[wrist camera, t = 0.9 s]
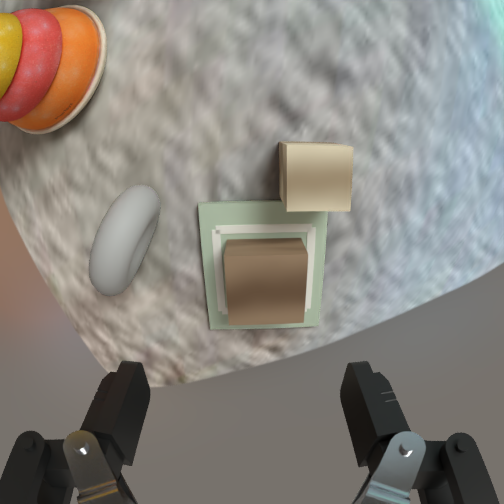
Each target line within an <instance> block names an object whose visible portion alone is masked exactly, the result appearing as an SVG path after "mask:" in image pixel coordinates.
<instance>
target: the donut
mask: <svg viewBox="0 0 504 504" xmlns="http://www.w3.org/2000/svg"><path fill="white" fill-rule="evenodd" d="M160 209H161V207H160V200H159V197H158V195H157V193H156V192H155V190H154V189H152V188H151V187H149V186H146V185H136V186H132V187H129V188H127V189H126V190H125V191H124V192H123V193H121V194H120V195H119V196H118V197H117V198H116V200H115V201H114V202H113V204H112V205H111V206H110V208H109V209H108V211H107V213H106V215H105V216H104V218H103V220H102V222H101V224H100V227H99V229H98V231H97V234H96V236H95V239H94V243H93V246H92V249H91V254H90V260H89V277H90V280H91V283H92V284H93V285H94V287H95V288H96V289H97V291H98V292H100V293H101V294H103V295H106V296H115V295H117V294H120V293H122V292H123V291H124V290H125V289H126V288H127V287H128V286H129V284H130V283H131V281H132V280H133V278H134V276H135V274H136V272H137V270H138V268H139V266H140V264H141V262H142V260H143V258H144V256H145V253H146V251H147V249H148V246H149V244H150V241H151V239H152V236H153V234H154V231H155V228H156V225H157V222H158V218H159V215H160Z"/></svg>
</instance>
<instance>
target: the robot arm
mask: <svg viewBox="0 0 504 504" xmlns="http://www.w3.org/2000/svg"><path fill="white" fill-rule="evenodd" d="M340 398H341V404H342V407H343V411H344V414H345V418H346V422H347V425H348V429H349V432H350V436H351V440H352V444H353V447H354V451H355V455H356V459H357V463H358V466H359V467H363V466H368V468H369V473H368V475H367V477H366V479H365V481H364V482H363V484H362V486H361V488H360V490H359V491H358V493H357V495H356V496H355V498H354V500H353V502H352V503H351V504H410V499H409V498H408V497H409V493H410V491H411V489H417V490H418V493H419V497H420V502H421V504H499V501H498V498H497V495H496V493H495V490H494V487H493V484H492V482H491V479H490V476H489V474H488V471H487V469H486V466H485V464H484V461H483V459H482V456H481V454H480V452H479V449H478V447H477V445H476V442H475V441H474V439H473V438H472V437H471V436H469V435H468V434H466V433H455V434H453V435H451V436H450V437H449V438H448V440H447V441H425V440H423V439H422V437H421V436H419V435H418V434H416V433H414V432H411V430H410V428H409V426H408V424H407V422H406V419H405V417H404V415H403V412H402V410H401V408H400V405H399V403H398V401H397V400H396V396H395V394H394V393H393V390H392V387H391V385H390V383H389V381H388V380H387V379H386V378H385V377H384V376H383V375H382V374H381V373H380V372H378V373H373V371H372V369H371V367H370V365H369V363H368V362H367V361H363V362H353V363H348V365H347V368H346V372H345V375H344V379H343V382H342V386H341V390H340ZM149 401H150V387H149V384H148V381H147V378H146V375H145V372H144V368H143V365H142V363H141V362H132V361H122V362H121V363H120V366H119V368H118V370H117V372H110V373H109V374H108V375H107V376H106V377H105V378H104V379H102V381H101V384H100V385H99V388H98V392H96V394H95V396H94V400H93V401H92V403H91V406H90V408H89V410H88V412H87V415H86V417H85V419H84V422H83V424H82V426H81V428H80V430H79V431H75V432H72V433H71V434H69V435H68V436H67V437H66V439H62V440H44V438H43V437H42V436H41V435H40V434H39V433H37V432H35V431H26V432H24V433H22V434H21V435H20V436H19V437H18V438H17V440H16V442H15V445H14V446H13V449H12V452H11V454H10V456H9V459H8V461H7V464H6V466H5V469H4V471H3V474H2V477H1V480H0V504H70V501H71V497H72V493H73V488H74V487H77V489H78V492H79V496H78V497H77V502H78V504H138V502H137V501H136V499H135V497H134V495H133V494H132V492H131V490H130V488H129V486H128V485H127V483H126V481H125V479H124V477H123V475H122V473H121V469H122V465H123V464H124V465H129V466H132V463H133V460H134V456H135V452H136V448H137V444H138V441H139V437H140V433H141V430H142V426H143V423H144V419H145V416H146V412H147V408H148V405H149Z"/></svg>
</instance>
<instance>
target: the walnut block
mask: <svg viewBox="0 0 504 504" xmlns="http://www.w3.org/2000/svg"><path fill="white" fill-rule="evenodd" d="M224 265H225V280H226V294H227V307H228V320H229V325H266V324H291V323H304V314H305V300H306V286H307V270H308V252H307V250H306V248H305V246H304V243H303V241H302V239H301V238H265V239H227V242H226V248H225V253H224Z"/></svg>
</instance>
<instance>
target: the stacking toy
mask: <svg viewBox="0 0 504 504" xmlns="http://www.w3.org/2000/svg"><path fill="white" fill-rule="evenodd" d="M106 57H107V38H106V33H105V29H104V27H103V24H102V22H101V21H100V19H99V18H98V16H97V15H96V14H95V13H94V12H92V11H91V10H90V9H88V8H86V7H83V6H79V5H65V6H60V7H57V8H50V9H45V10H42V9H33V8H32V9H23V10H18V11H15V12H12V13H0V121H3V122H7V121H8V122H9V123H11V124H13V125H15V126H16V127H18V128H19V129H20V130H22V131H24V132H27V133H30V134H45V133H49V132H52V131H55V130H57V129H59V128H61V127H62V126H64V125H65V124H67V123H68V122H70V121H71V120H72V119H73V118H74V117H75V116H77V115H78V113H79V112H80V111H81V110H82V109H83V108H84V107H85V105H86V104H87V103H88V101H89V100H90V98H91V97H92V95H93V94H94V92H95V90H96V88H97V86H98V84H99V82H100V79H101V77H102V74H103V71H104V67H105V63H106Z"/></svg>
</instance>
